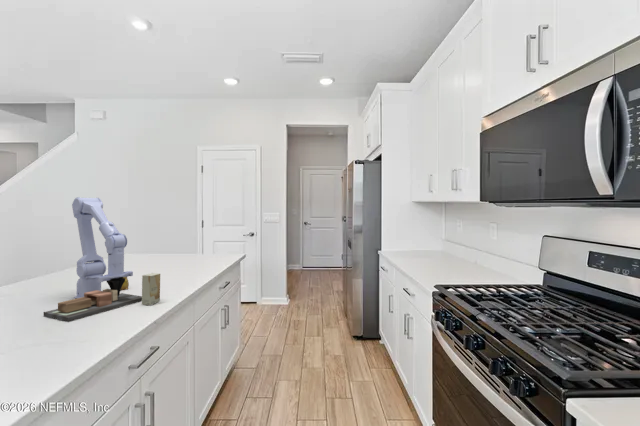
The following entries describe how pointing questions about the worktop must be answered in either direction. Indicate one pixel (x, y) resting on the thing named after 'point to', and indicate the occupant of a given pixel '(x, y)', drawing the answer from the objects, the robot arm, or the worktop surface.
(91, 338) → the worktop surface
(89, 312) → the plate
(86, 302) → the tan wooden brick
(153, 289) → the skincare box
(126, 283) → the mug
